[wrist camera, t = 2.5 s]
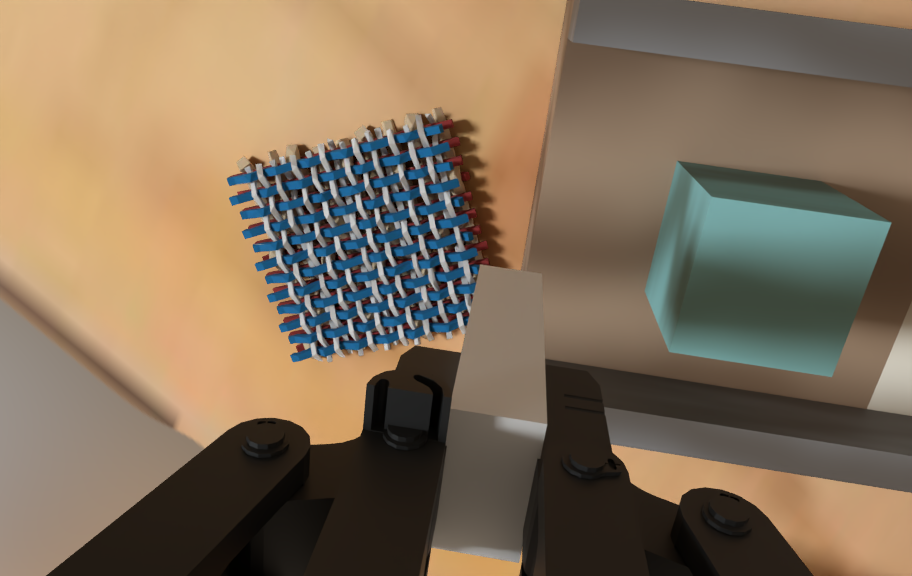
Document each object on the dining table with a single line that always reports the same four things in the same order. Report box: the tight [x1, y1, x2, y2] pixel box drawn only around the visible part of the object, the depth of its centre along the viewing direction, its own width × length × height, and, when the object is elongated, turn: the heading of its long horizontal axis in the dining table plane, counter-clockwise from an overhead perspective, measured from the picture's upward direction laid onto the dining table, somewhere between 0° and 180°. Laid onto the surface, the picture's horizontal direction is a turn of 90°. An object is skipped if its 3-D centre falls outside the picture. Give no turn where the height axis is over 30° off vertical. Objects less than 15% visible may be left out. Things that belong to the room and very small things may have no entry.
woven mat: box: [227, 107, 490, 362], centre depth 31 cm, size 10×11×2 cm
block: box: [645, 161, 891, 377], centre depth 22 cm, size 5×5×5 cm
